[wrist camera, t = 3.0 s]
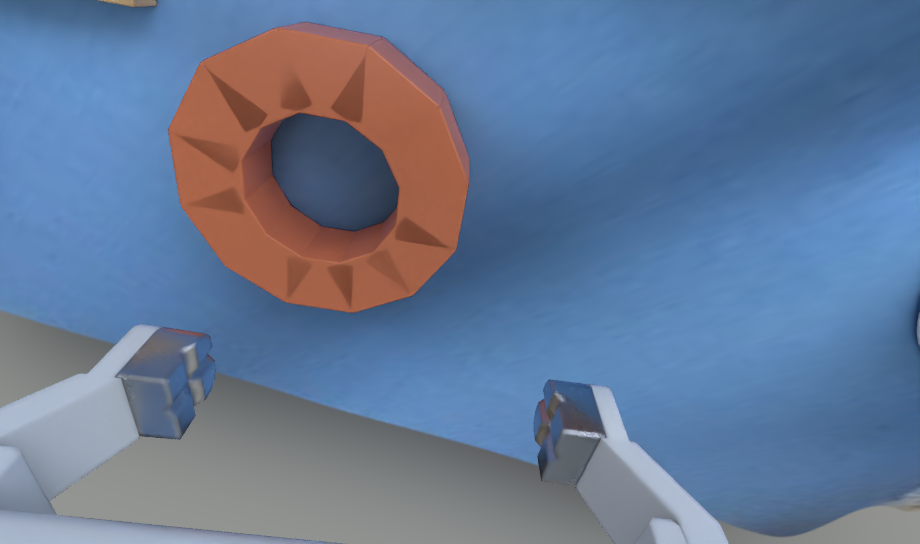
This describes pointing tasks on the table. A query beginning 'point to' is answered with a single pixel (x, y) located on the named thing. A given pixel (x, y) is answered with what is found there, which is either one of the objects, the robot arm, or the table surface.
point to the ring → (262, 200)
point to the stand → (133, 2)
